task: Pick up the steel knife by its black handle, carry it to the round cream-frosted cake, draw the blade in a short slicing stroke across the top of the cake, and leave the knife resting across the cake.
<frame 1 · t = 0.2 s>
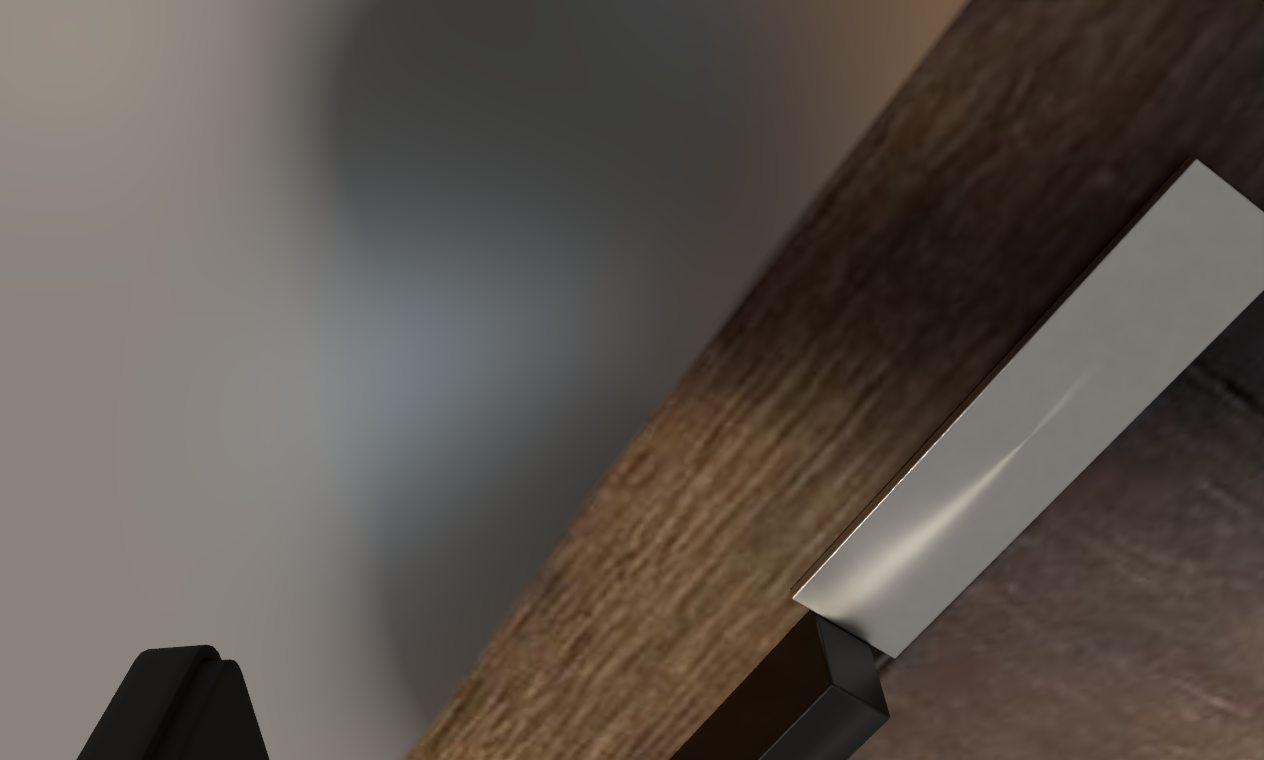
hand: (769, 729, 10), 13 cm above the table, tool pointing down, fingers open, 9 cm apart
knife: (855, 606, 26), on the table
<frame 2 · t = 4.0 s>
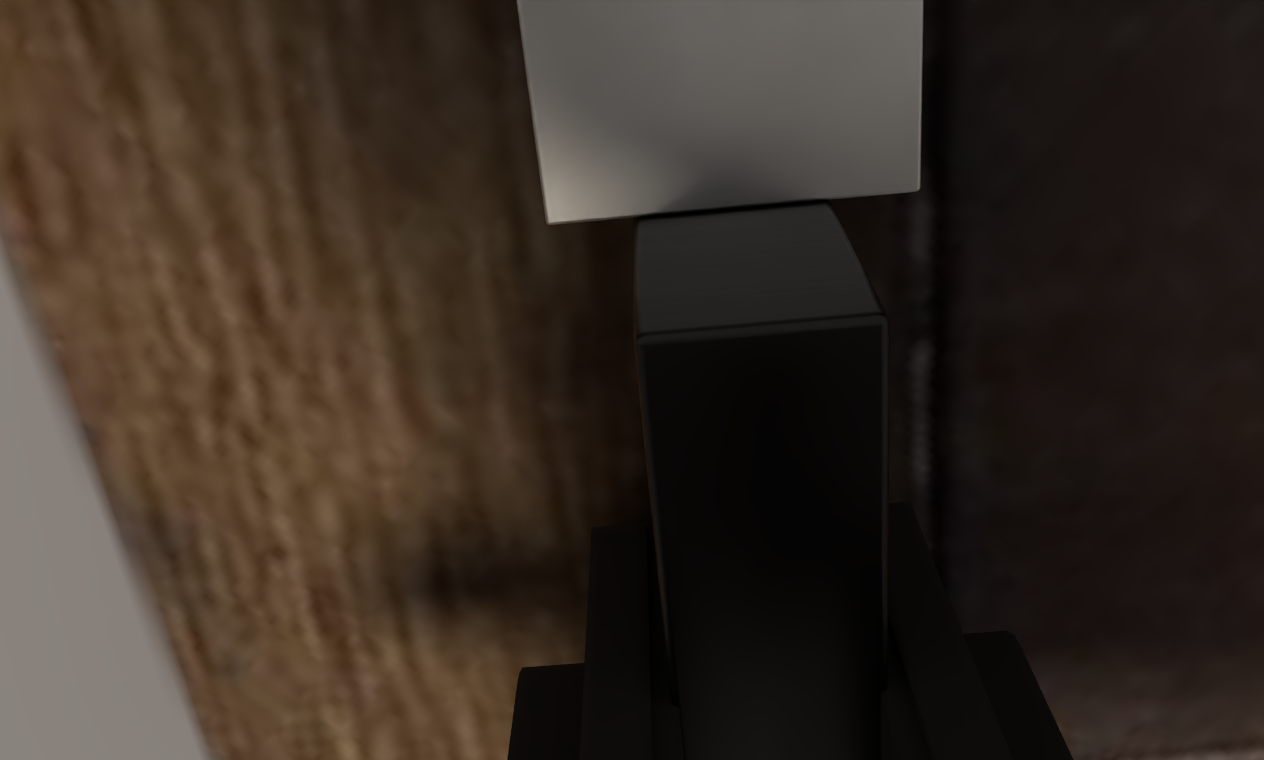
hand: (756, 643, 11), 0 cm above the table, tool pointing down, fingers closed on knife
knife: (726, 138, 9), on the table, touching gripper
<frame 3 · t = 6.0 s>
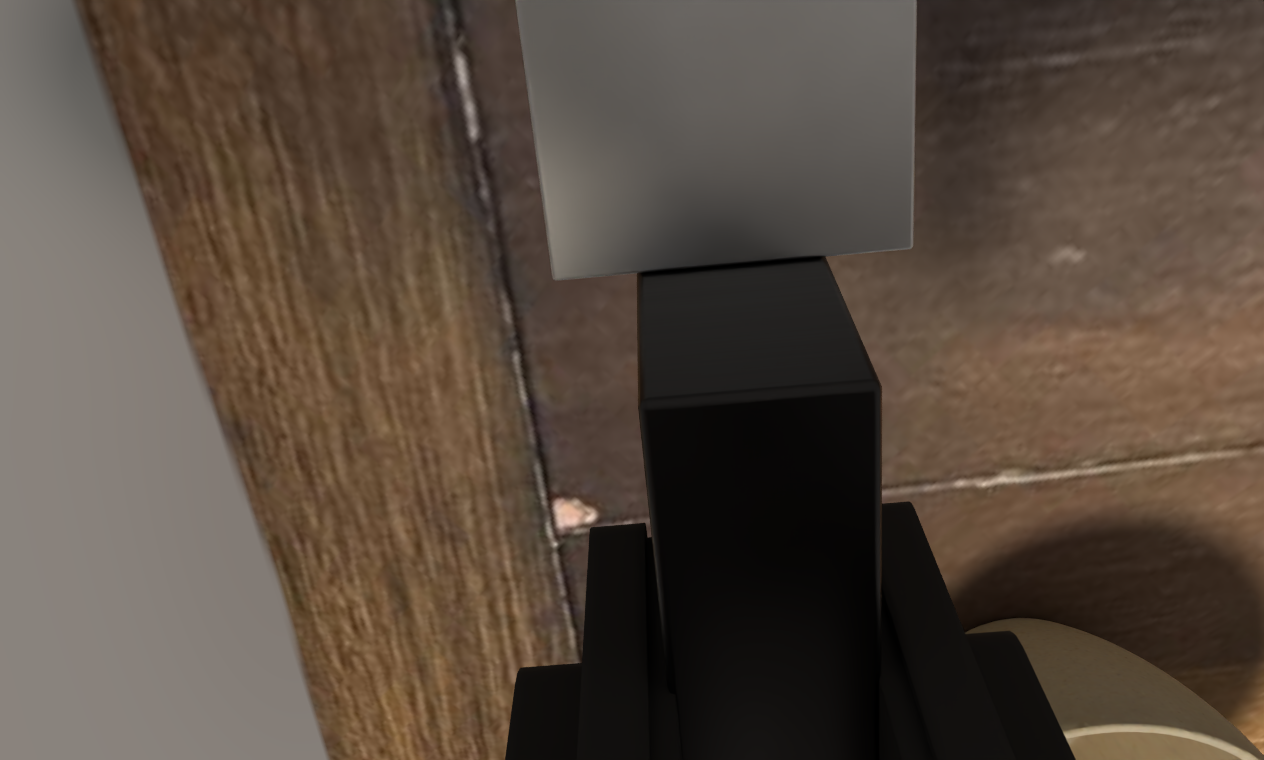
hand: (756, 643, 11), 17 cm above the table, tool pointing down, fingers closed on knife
knife: (726, 197, 10), point 17 cm above the table, touching gripper
flower pot: (1004, 680, 33), on the table
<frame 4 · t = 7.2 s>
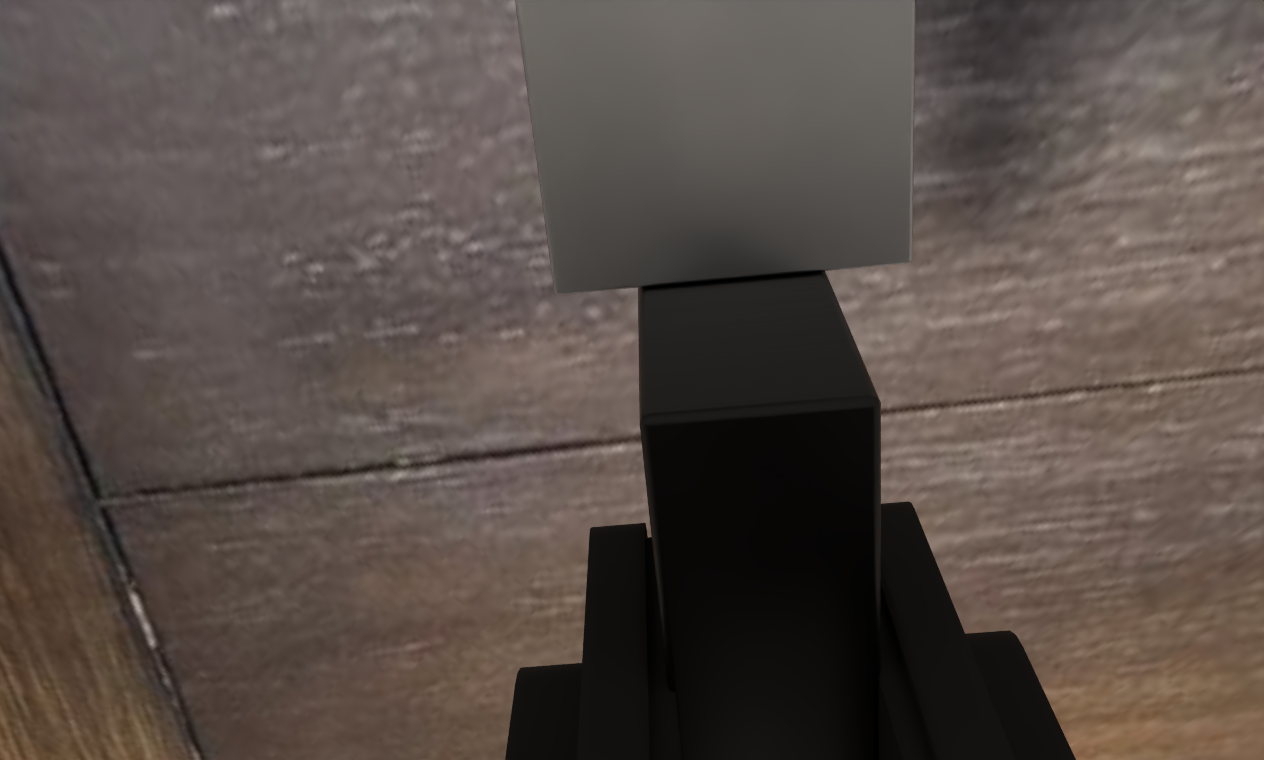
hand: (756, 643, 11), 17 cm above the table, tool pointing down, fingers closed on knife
knife: (726, 212, 10), point 17 cm above the table, touching gripper
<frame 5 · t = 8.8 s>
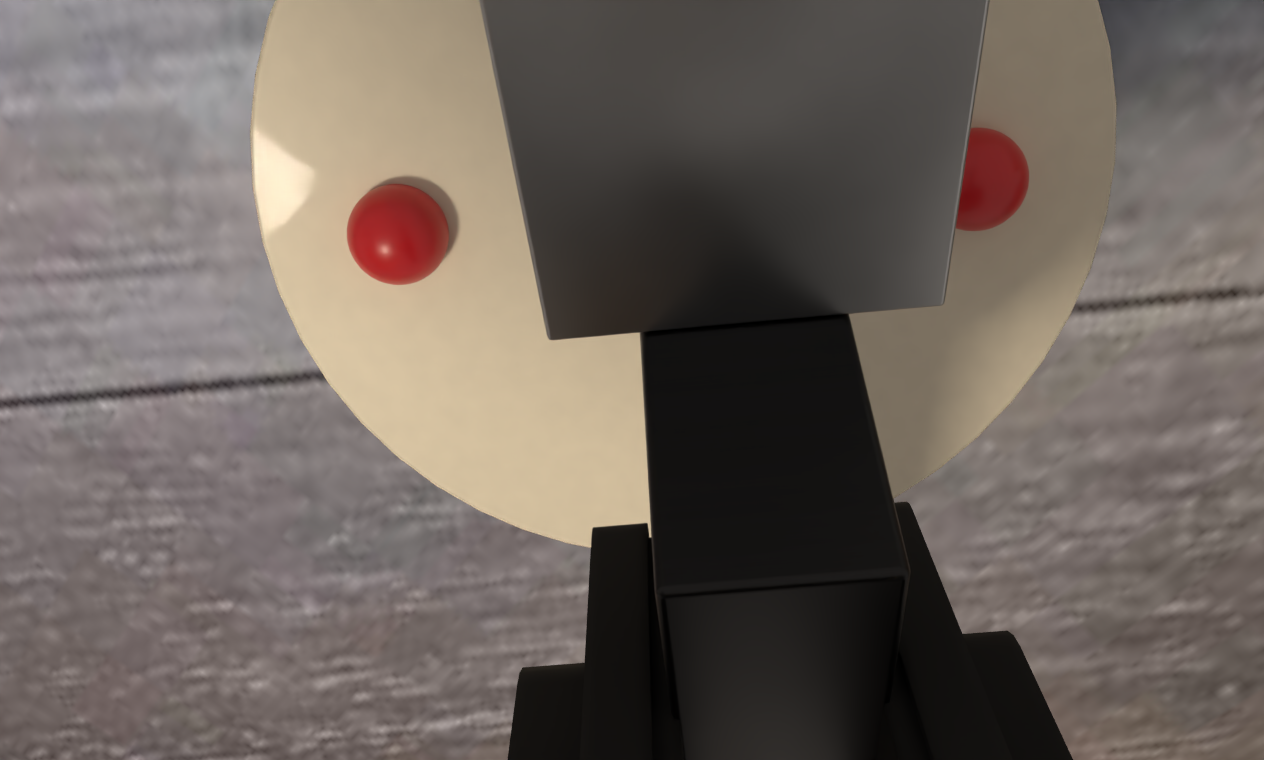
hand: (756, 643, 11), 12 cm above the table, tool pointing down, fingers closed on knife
cake: (668, 109, 21), on the table
knife: (739, 248, 8), point 13 cm above the table, tilted 20°, touching gripper
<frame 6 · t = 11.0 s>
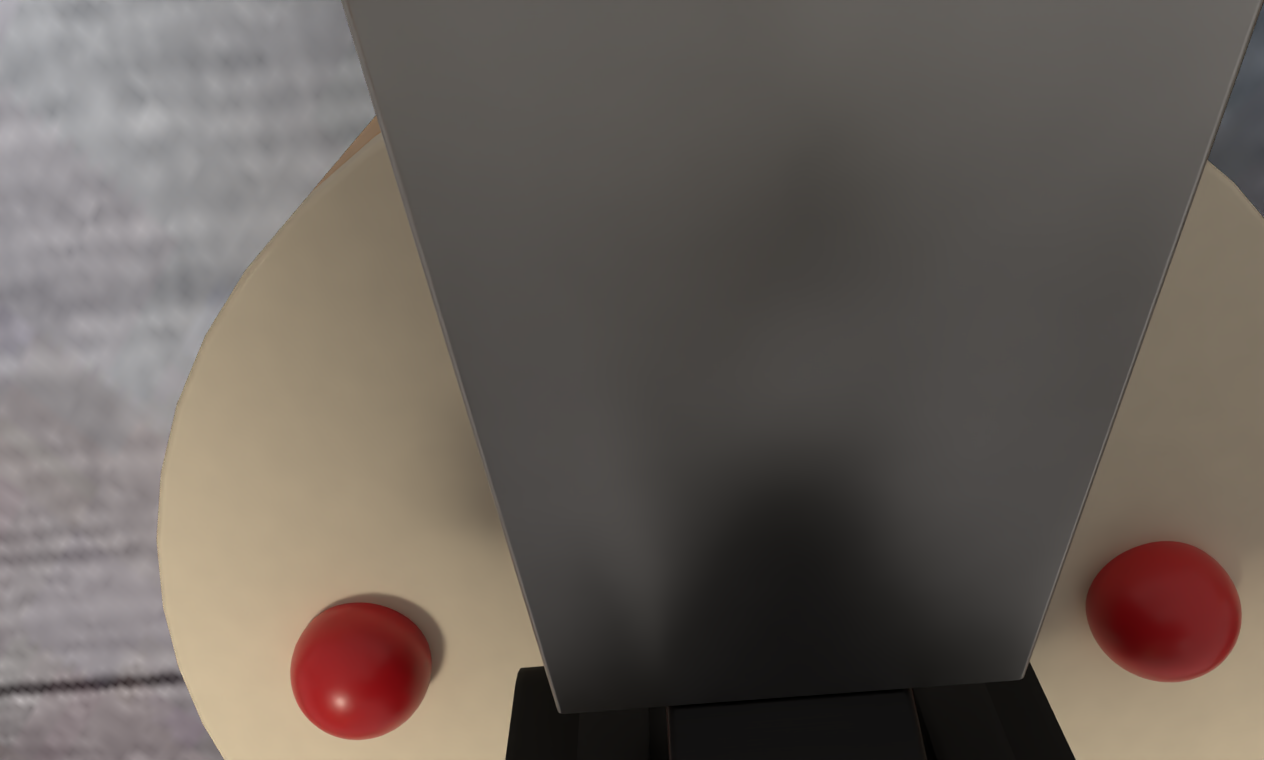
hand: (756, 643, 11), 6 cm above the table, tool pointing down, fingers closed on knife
cake: (717, 381, 17), on the table
knife: (784, 618, 7), point 9 cm above the table, tilted 22°, touching gripper
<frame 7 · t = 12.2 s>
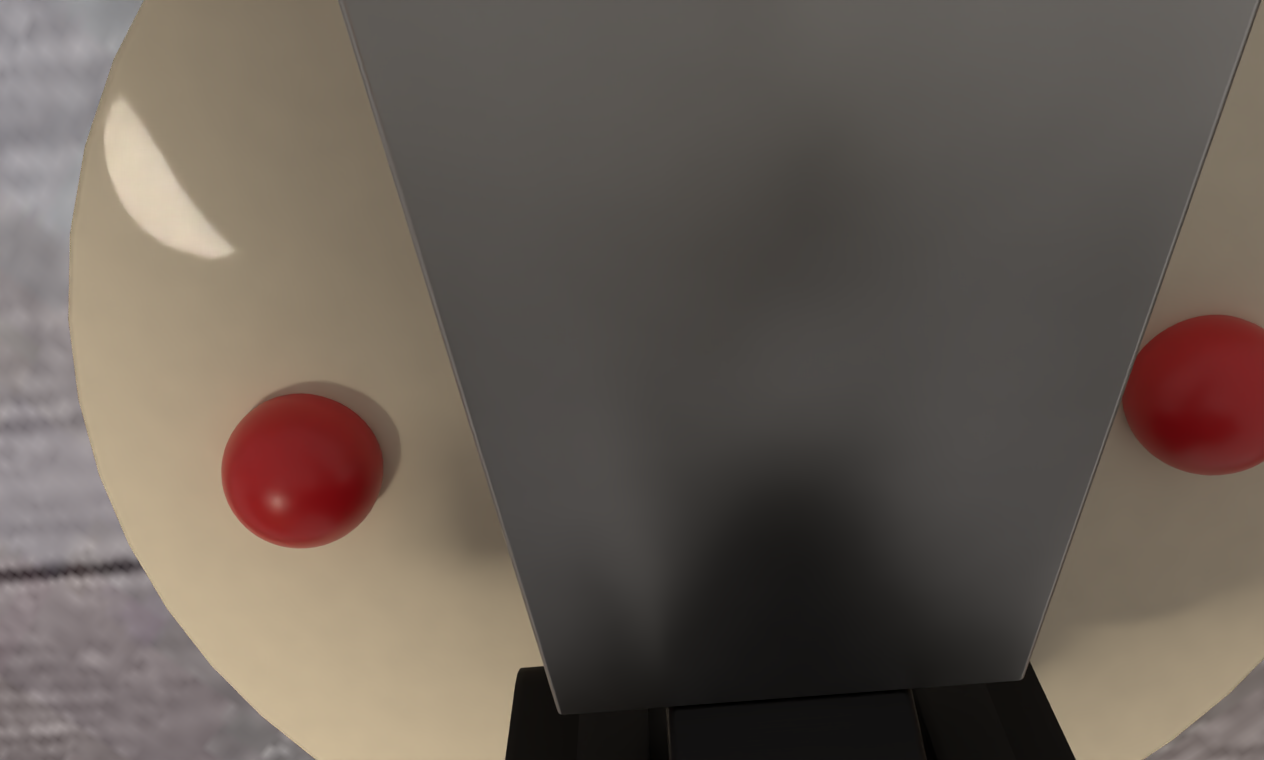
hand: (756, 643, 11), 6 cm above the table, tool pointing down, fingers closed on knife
cake: (709, 222, 15), on the table
knife: (784, 619, 7), point 9 cm above the table, tilted 22°, touching gripper
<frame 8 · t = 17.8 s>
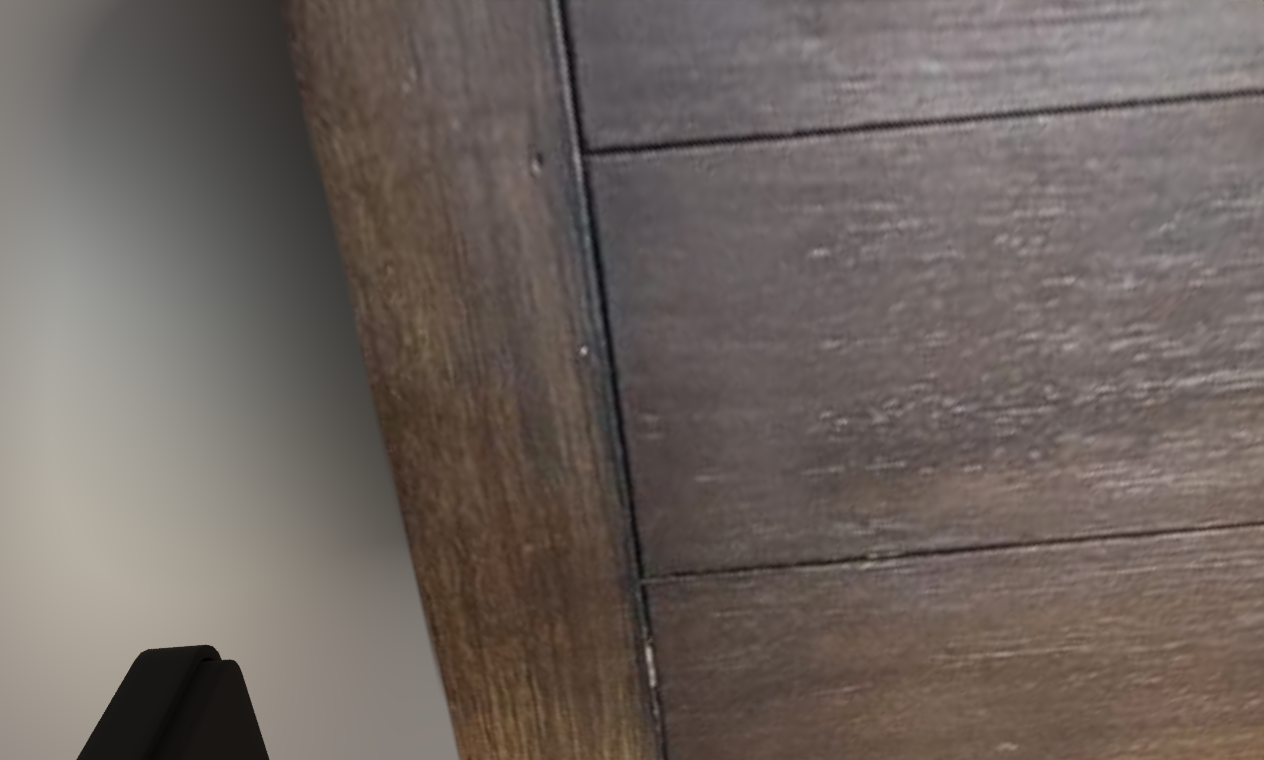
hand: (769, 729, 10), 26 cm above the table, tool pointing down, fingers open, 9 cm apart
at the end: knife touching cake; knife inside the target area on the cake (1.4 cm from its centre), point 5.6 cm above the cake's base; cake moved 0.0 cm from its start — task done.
